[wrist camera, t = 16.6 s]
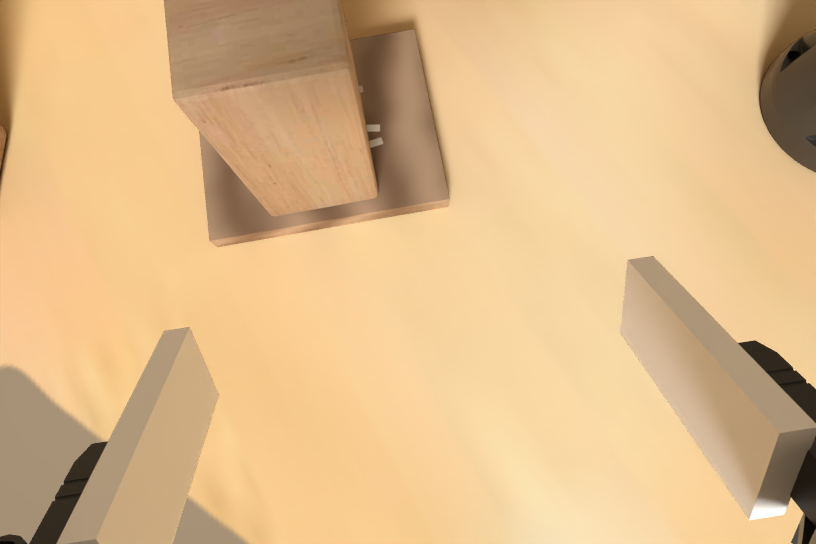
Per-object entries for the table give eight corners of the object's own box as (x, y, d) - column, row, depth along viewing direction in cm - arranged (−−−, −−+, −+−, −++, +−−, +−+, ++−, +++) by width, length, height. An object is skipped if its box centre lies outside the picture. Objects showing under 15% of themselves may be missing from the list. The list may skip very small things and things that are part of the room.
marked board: (414, 42, 54) (414, 29, 52) (448, 206, 50) (449, 198, 48) (201, 78, 54) (193, 66, 52) (217, 247, 50) (209, 241, 48)
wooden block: (258, 120, 50) (155, -51, 31) (362, 102, 51) (325, -81, 31) (271, 219, 48) (169, 101, 29) (379, 199, 48) (351, 68, 29)
